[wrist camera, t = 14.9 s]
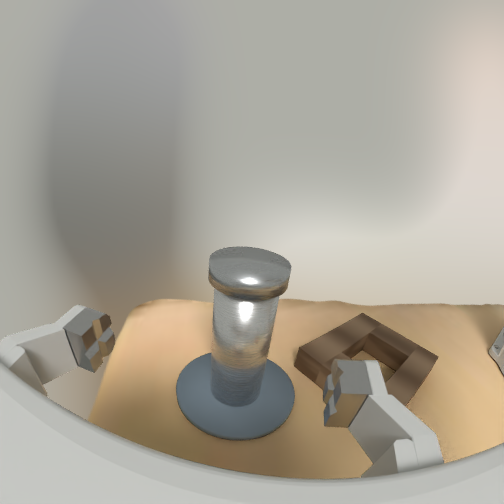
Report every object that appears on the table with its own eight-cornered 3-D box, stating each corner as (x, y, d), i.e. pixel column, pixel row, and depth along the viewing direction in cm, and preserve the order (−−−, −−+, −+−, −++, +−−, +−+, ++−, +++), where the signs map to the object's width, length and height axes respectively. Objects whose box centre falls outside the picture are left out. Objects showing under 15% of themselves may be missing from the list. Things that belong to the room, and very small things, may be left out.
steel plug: (242, 361, 29) (257, 243, 24) (277, 395, 25) (307, 270, 20) (194, 379, 26) (195, 252, 21) (226, 420, 21) (240, 287, 16)
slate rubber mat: (248, 343, 33) (248, 339, 33) (316, 403, 25) (318, 399, 24) (158, 373, 26) (158, 368, 26) (216, 460, 18) (217, 457, 17)
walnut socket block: (356, 329, 38) (362, 312, 37) (428, 373, 28) (438, 356, 27) (294, 366, 30) (299, 347, 29) (382, 433, 20) (395, 417, 19)
